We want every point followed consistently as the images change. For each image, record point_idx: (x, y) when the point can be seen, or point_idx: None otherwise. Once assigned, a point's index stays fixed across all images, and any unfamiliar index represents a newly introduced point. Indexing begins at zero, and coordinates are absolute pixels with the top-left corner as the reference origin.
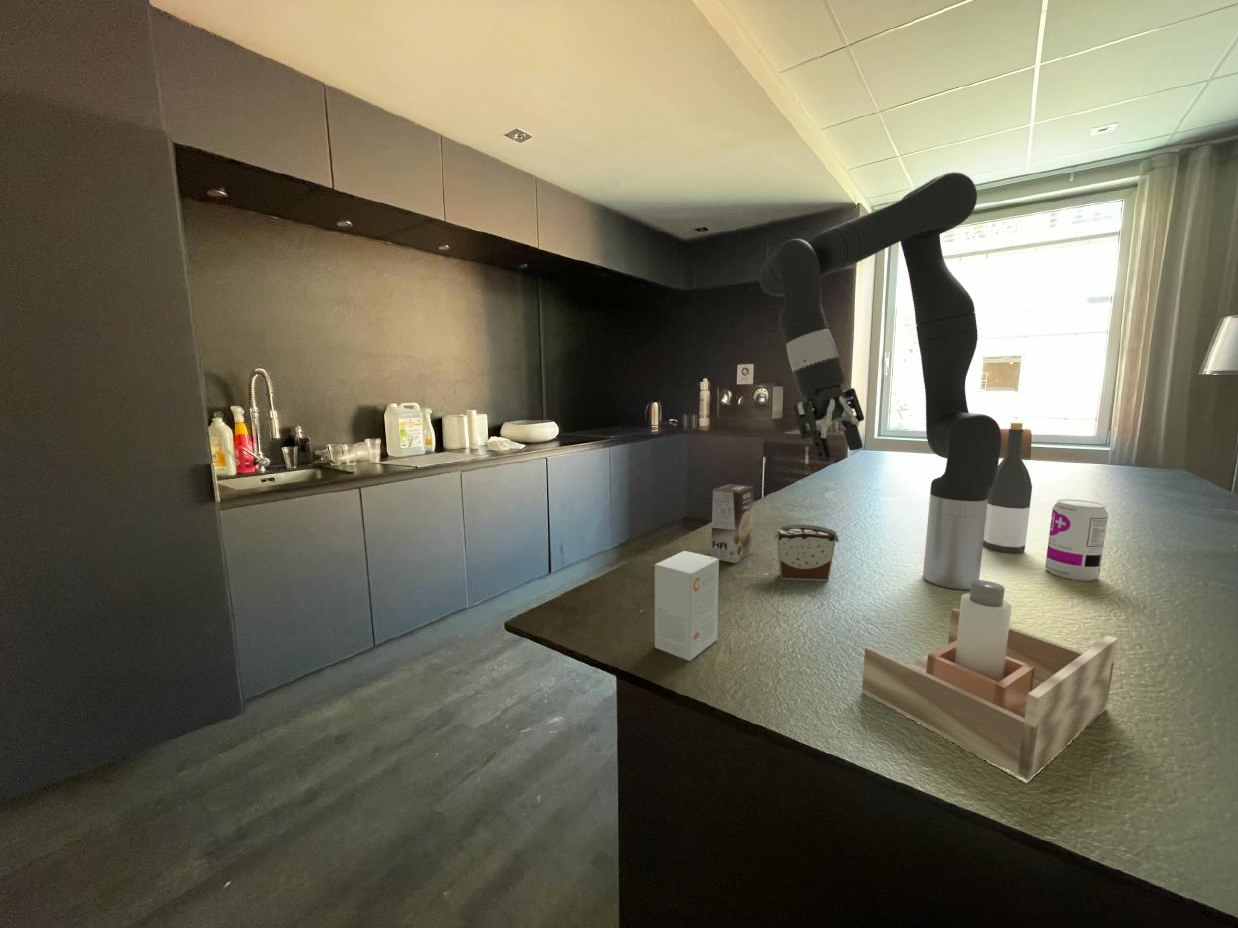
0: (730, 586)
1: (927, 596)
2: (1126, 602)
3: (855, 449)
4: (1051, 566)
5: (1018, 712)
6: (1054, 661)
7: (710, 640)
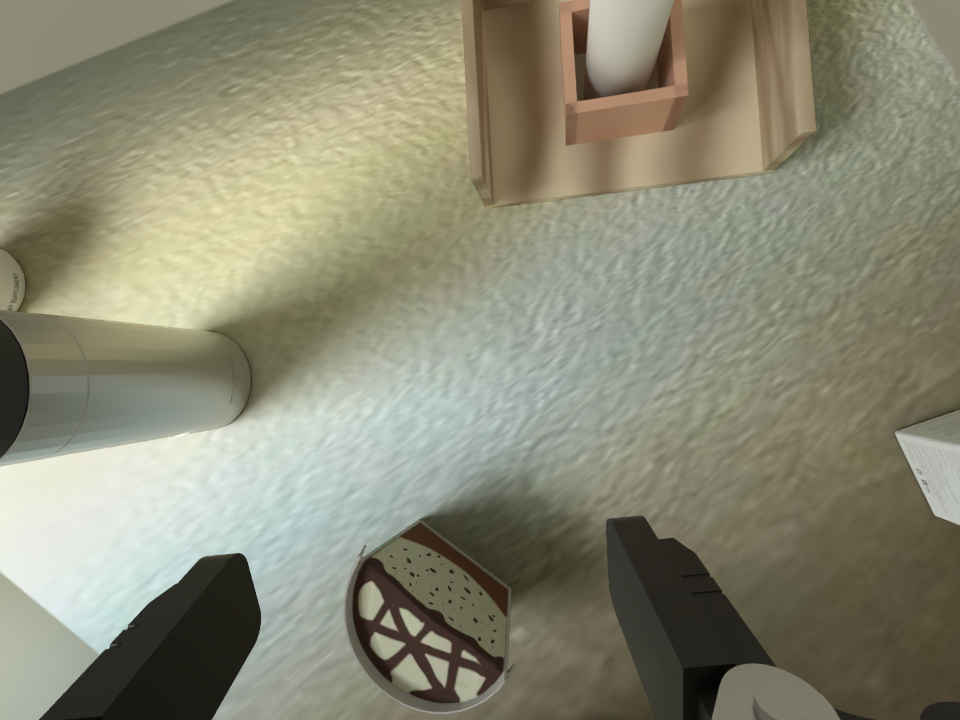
0: None
1: (318, 356)
2: (65, 179)
3: (250, 587)
4: (5, 304)
5: None
6: (478, 31)
7: (937, 420)
